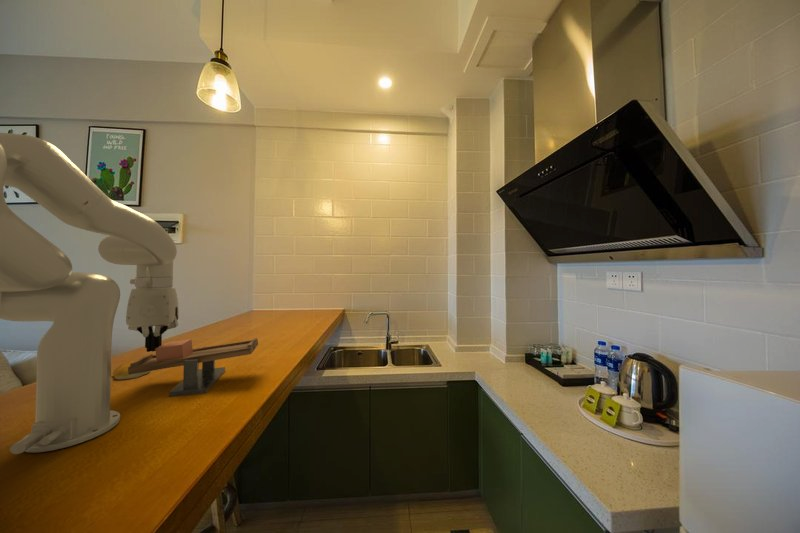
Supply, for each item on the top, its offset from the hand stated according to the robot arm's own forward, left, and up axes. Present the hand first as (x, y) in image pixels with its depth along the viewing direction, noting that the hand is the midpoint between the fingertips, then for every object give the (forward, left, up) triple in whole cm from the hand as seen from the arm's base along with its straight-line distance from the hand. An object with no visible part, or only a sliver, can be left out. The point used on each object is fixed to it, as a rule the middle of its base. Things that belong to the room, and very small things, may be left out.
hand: (153, 350), depth 75 cm
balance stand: (0, -11, -10) cm, 15 cm away
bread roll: (+12, +11, -10) cm, 19 cm away
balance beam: (0, -11, -3) cm, 12 cm away
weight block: (0, -5, -3) cm, 6 cm away
